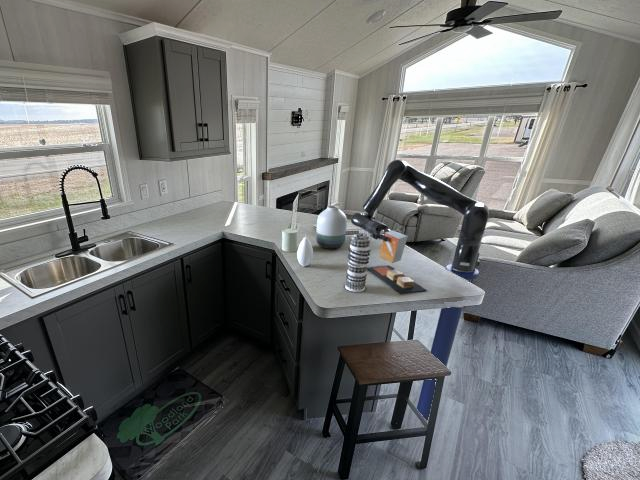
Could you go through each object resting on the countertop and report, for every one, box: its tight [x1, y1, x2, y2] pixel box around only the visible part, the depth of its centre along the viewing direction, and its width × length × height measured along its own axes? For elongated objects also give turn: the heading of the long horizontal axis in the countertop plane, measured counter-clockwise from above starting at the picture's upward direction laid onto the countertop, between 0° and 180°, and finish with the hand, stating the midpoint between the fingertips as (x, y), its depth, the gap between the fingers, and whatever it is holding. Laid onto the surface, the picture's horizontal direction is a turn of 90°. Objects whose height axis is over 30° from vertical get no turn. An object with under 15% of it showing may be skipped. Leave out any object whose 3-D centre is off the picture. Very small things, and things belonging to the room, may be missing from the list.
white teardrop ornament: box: [296, 235, 314, 267], centre depth 168 cm, size 8×8×18 cm
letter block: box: [397, 276, 416, 288], centre depth 146 cm, size 5×5×3 cm
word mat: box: [366, 265, 427, 295], centre depth 154 cm, size 12×28×1 cm, turn 10°
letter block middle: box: [387, 269, 404, 281], centre depth 153 cm, size 5×5×3 cm
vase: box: [315, 205, 348, 250], centre depth 193 cm, size 17×17×24 cm
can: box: [281, 227, 299, 253], centre depth 193 cm, size 9×9×12 cm
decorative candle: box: [345, 232, 372, 293], centre depth 142 cm, size 9×9×25 cm
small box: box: [378, 231, 409, 264], centre depth 156 cm, size 8×6×13 cm
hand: (395, 238), depth 153 cm, fingers closed on small box, 8 cm apart
